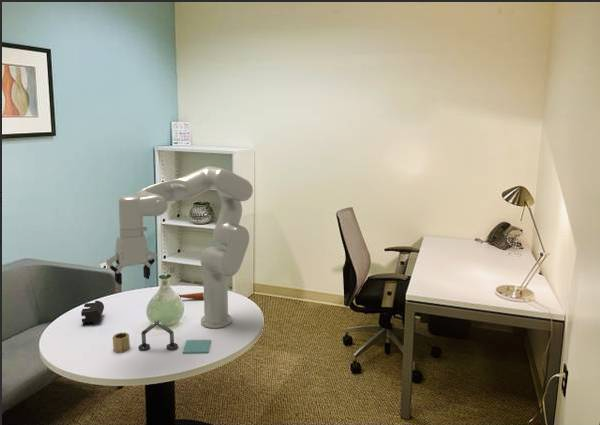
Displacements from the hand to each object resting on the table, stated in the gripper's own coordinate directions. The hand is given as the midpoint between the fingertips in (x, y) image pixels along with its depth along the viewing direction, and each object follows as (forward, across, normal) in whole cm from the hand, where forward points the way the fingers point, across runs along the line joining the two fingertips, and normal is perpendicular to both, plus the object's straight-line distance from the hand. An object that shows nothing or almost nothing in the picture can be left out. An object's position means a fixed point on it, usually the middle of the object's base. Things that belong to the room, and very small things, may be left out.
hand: (133, 280), depth 164 cm
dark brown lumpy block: (+28, +2, -37) cm, 46 cm away
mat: (+27, -20, +9) cm, 35 cm away
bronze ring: (+28, +2, -7) cm, 29 cm away
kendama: (+27, -35, -33) cm, 55 cm away
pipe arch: (+27, -8, +1) cm, 29 cm away
